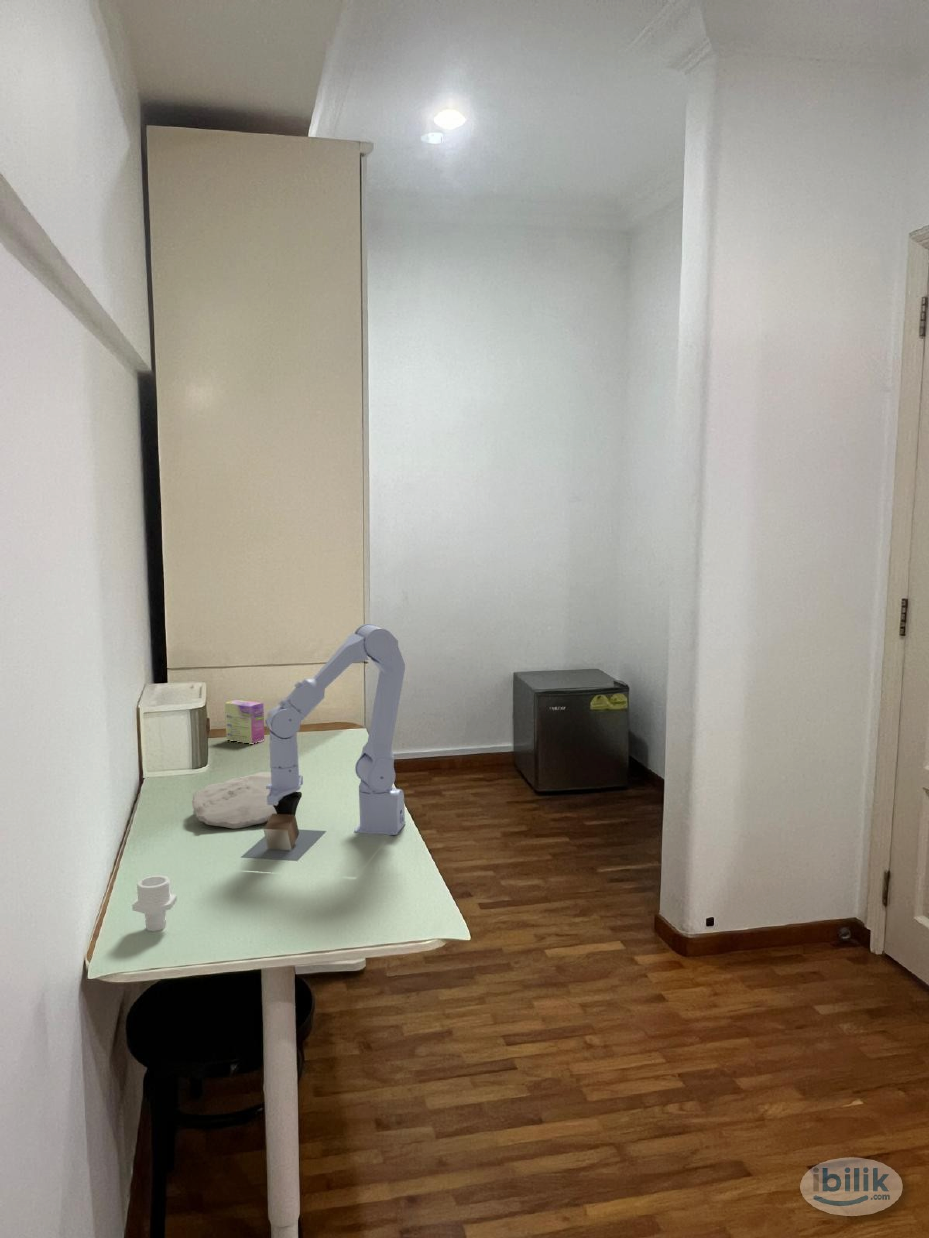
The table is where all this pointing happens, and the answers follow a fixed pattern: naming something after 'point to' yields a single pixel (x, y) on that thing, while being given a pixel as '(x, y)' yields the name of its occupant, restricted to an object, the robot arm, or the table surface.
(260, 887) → the table surface
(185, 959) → the table surface
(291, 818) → the cube
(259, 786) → the rock
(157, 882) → the pipe fitting
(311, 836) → the mat
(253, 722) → the box
